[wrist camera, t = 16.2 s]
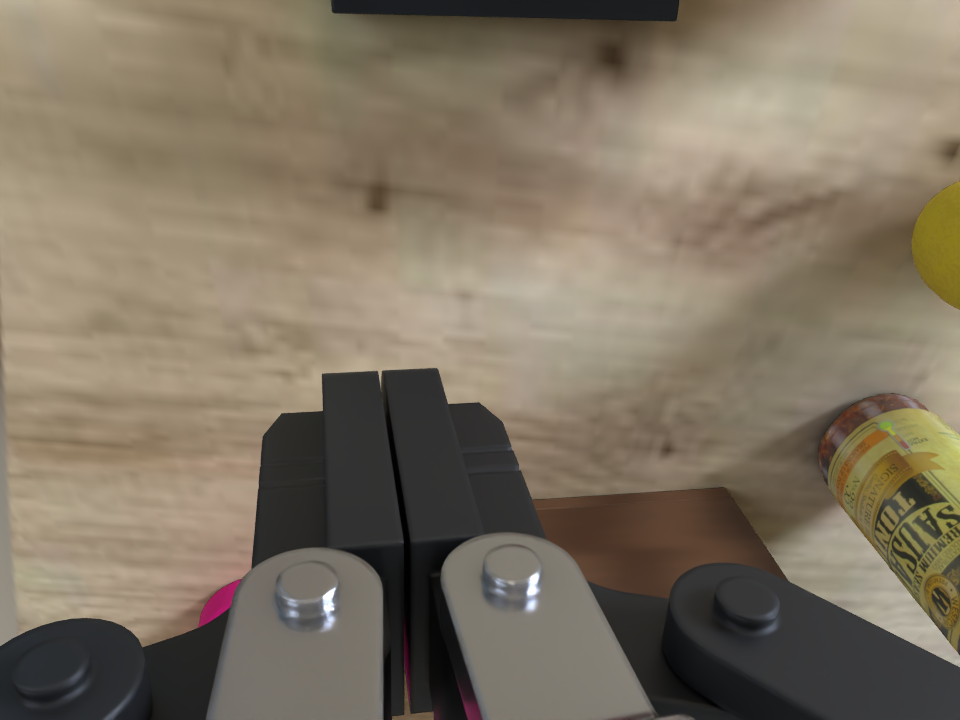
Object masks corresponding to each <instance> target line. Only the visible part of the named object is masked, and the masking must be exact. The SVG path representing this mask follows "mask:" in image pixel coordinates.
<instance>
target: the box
mask: <svg viewBox="0 0 960 720" xmlns="http://www.w3.org/2000/svg"><path fill="white" fill-rule="evenodd" d="M532 501H533V504H534V507H535V509H536V512H537V515H538V517H539V520H540V522H541V525H542V528H543V530H544V533H545V536H546V538H547V540H548V541H550V542H552V543H554V544H555V545H557V546H559V547H560V548H562V549H563V550H564V551H566V552H567V553H568V554H569V555H570V556H571V557H572V558H573V559H574V560H575V562H576V563H577V565H578V566H579V568H580V570H581V572H582V574H583V576H584V577H585V579H586V580H587V581H589V582H592V583H594V584H596V585H599V586H602V587H605V588H609V589H612V590H617V591H622V592H628V593H635V594H642V595H649V596H656V597H662V598H669V597H670V591H671V588H672V586H673V584H674V582H675V581H676V580H677V579H678V578H679V576H681V575H682V574H683V573H685V572H686V571H688V570H690V569H692V568H694V567H697V566H700V565H704V564H710V563H737V564H743V565H748V566H753V567H756V568H759V569H762V570H765V571H767V572H770V573H772V574H774V575H776V576H778V577H780V578H782V579H784V580H786V581H788V579H787V578H786V576H785V575H784V574H783V572H782V571H781V569H780V568H779V566H778V565H777V563H776V562H775V560H774V559H773V557H772V556H771V554H770V553H769V551H768V550H767V548H766V547H765V545H764V544H763V542H762V541H761V539H760V538H759V536H758V535H757V533H756V532H755V530H754V529H753V527H752V526H751V525H750V523H749V522H748V520H747V519H746V517H745V516H744V514H743V513H742V511H741V510H740V508H739V507H738V505H737V504H736V502H735V501H734V499H733V498H732V497H731V495H730V493H729V492H728V490H727V489H726V488H711V489H696V490H680V491H665V492H649V493H634V494H618V495H603V496H587V497H572V498H556V499H541V500H532ZM788 582H789V581H788Z"/></svg>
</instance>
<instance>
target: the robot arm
mask: <svg viewBox="0 0 960 720" xmlns="http://www.w3.org/2000/svg"><path fill="white" fill-rule="evenodd" d="M322 392H323V411H319V412H300V413H282V414H281V415H280V416H279V417H278V419H277V420H276V421H275V422H274V423H273V425H272V426H271V427H270V428H269V430H268V431H267V432H266V433H265V434H264V436H263V440H262V452H261V467H260V475H259V489H258V498H257V510H256V522H255V533H254V545H253V557H252V568H251V570H250V571H249V572H248V573H247V574H246V575H245V576H244V577H243V579H242V580H241V581H240V583H239V584H238V586H237V587H236V589H235V592H234V595H233V598H232V602H231V606H230V607H229V608H228V609H227V610H226V611H225V612H223V613H222V614H221V615H219V616H218V617H216V618H215V619H213V620H212V621H210V622H209V623H207V624H205V625H203V626H201V627H199V628H197V629H194V630H192V631H189V632H187V633H184V634H182V635H179V636H176V637H173V638H170V639H167V640H164V641H161V642H158V643H155V644H152V645H149V646H146V647H143V648H142V646H141V644H140V642H139V640H138V638H137V637H136V636H135V635H134V634H133V633H132V632H131V631H129V630H128V629H126V628H125V627H123V626H121V625H119V624H116V623H114V622H111V621H106V620H102V619H92V618H79V619H68V620H62V621H57V622H53V623H49V624H46V625H42V626H40V627H37V628H34V629H32V630H29V631H27V632H25V633H23V634H21V635H19V636H17V637H15V638H13V639H11V640H10V641H8V642H6V643H5V644H3V645H2V646H0V720H392V716H399V715H404V666H405V674H406V682H407V690H408V697H409V705H410V713H411V714H413V713H422V712H430V711H433V715H434V720H960V667H958V666H956V665H954V664H952V663H950V662H948V661H946V660H944V659H942V658H940V657H938V656H936V655H934V654H932V653H930V652H928V651H926V650H924V649H922V648H920V647H918V646H916V645H914V644H912V643H910V642H908V641H906V640H904V639H902V638H900V637H898V636H896V635H894V634H892V633H890V632H888V631H886V630H884V629H882V628H880V627H878V626H876V625H874V624H872V623H870V622H868V621H866V620H864V619H862V618H860V617H858V616H856V615H854V614H852V613H850V612H848V611H846V610H844V609H842V608H840V607H838V606H836V605H834V604H832V603H830V602H828V601H826V600H824V599H822V598H820V597H818V596H816V595H814V594H812V593H810V592H808V591H806V590H804V589H802V588H800V587H798V586H796V585H794V584H792V583H790V582H788V581H786V580H784V579H782V578H780V577H778V576H776V575H774V574H772V573H770V572H767V571H765V570H762V569H759V568H756V567H753V566H748V565H743V564H737V563H710V564H704V565H700V566H697V567H694V568H692V569H690V570H688V571H686V572H685V573H683V574H682V575H681V576H679V578H678V579H677V580H676V581H675V582H674V584H673V586H672V588H671V591H670V597H669V598H662V597H656V596H649V595H642V594H635V593H628V592H622V591H617V590H612V589H609V588H605V587H602V586H599V585H596V584H594V583H592V582H589V581H587V580H586V579H585V577H584V576H583V574H582V572H581V570H580V568H579V566H578V565H577V563H576V562H575V560H574V559H573V558H572V557H571V556H570V555H569V554H568V553H567V552H566V551H564V550H563V549H562V548H560V547H559V546H557V545H555V544H554V543H552V542H550V541H548V540H547V538H546V536H545V533H544V530H543V528H542V525H541V522H540V520H539V517H538V515H537V512H536V509H535V507H534V504H533V501H532V499H531V496H530V493H529V491H528V488H527V486H526V483H525V480H524V478H523V475H522V472H521V470H519V464H518V462H517V459H516V457H515V454H514V451H513V450H512V449H511V443H510V441H509V438H508V435H507V433H506V430H505V428H504V425H503V422H502V421H501V420H499V419H498V418H497V417H496V416H495V415H493V414H492V413H491V412H490V411H489V410H487V409H486V408H485V407H484V406H483V405H481V404H480V403H461V404H448V403H447V399H446V396H445V392H444V388H443V385H442V381H441V378H440V374H439V371H438V369H437V368H427V369H406V370H385V371H382V376H381V388H380V381H379V375H378V371H368V372H347V373H326V374H322Z"/></svg>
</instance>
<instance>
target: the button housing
mask: <svg viewBox="0 0 960 720" xmlns="http://www.w3.org/2000/svg"><path fill="white" fill-rule="evenodd" d="M331 6H332V12H333V13H341V14H383V15H424V16H466V17H508V18H549V19H591V20H633V21H676V20H677V14H678V7H679V0H331Z"/></svg>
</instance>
